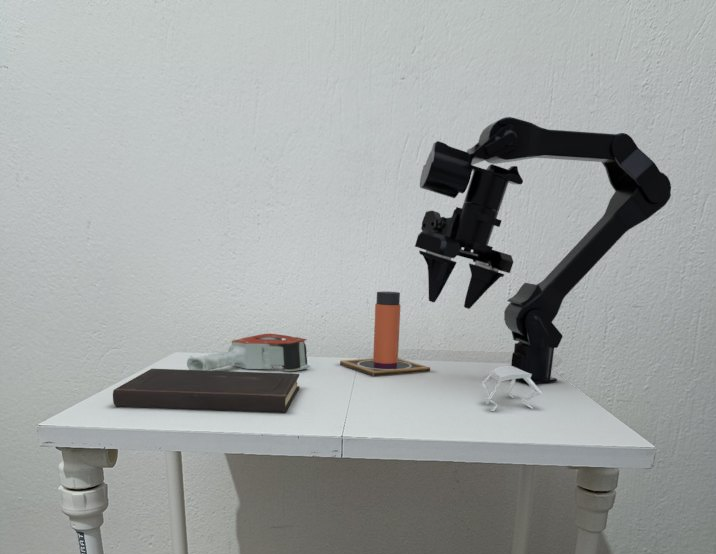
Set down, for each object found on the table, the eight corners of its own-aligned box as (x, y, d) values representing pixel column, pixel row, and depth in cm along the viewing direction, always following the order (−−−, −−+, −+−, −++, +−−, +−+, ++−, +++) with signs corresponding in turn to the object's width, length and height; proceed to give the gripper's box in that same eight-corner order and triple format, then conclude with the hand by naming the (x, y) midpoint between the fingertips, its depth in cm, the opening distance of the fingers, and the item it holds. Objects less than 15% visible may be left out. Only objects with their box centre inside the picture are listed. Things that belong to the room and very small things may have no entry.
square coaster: (394, 360, 129) (394, 356, 129) (430, 371, 119) (430, 367, 119) (340, 364, 123) (340, 360, 123) (373, 376, 114) (373, 371, 113)
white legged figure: (543, 414, 91) (548, 379, 90) (482, 411, 92) (486, 376, 90) (530, 395, 103) (534, 364, 101) (475, 393, 103) (478, 361, 102)
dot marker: (399, 365, 121) (402, 292, 116) (395, 369, 117) (399, 293, 112) (375, 364, 122) (378, 290, 117) (371, 368, 118) (373, 292, 113)
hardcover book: (152, 383, 103) (151, 368, 103) (299, 388, 103) (299, 373, 102) (113, 407, 88) (111, 390, 87) (285, 413, 88) (285, 396, 87)
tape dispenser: (186, 383, 111) (305, 379, 110) (181, 352, 109) (303, 347, 108) (209, 360, 127) (313, 357, 126) (205, 332, 125) (311, 328, 124)
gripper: (478, 209, 116) (450, 298, 121) (406, 184, 103) (378, 284, 109) (529, 223, 109) (496, 316, 114) (458, 197, 96) (425, 303, 102)
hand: (449, 305), depth 110 cm, fingers open, 9 cm apart
